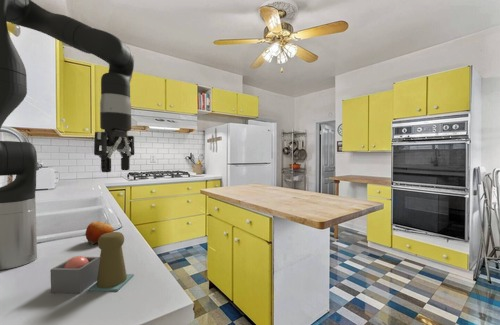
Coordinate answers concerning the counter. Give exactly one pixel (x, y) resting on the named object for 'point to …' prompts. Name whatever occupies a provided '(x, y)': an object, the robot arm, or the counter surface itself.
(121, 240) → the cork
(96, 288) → the tile
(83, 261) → the salmon pink ball
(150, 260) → the counter surface
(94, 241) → the fruit
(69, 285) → the housing
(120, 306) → the counter surface
